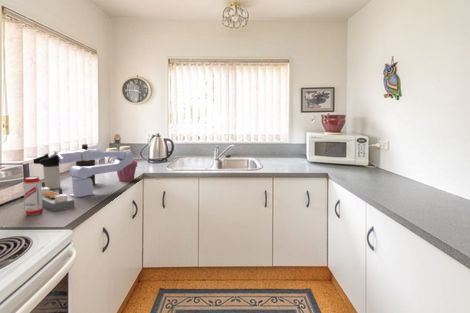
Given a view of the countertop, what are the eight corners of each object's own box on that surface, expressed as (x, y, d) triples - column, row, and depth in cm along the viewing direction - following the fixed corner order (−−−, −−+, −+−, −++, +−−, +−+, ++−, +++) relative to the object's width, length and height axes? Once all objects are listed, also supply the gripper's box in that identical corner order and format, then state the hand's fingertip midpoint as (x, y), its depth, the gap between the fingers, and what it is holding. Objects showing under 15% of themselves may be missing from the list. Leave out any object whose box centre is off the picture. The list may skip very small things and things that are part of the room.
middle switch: (55, 195, 148) (54, 192, 148) (57, 195, 146) (56, 192, 146) (47, 196, 145) (46, 194, 145) (48, 196, 143) (48, 194, 143)
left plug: (46, 191, 154) (46, 180, 154) (49, 193, 152) (49, 181, 151) (38, 193, 151) (37, 181, 150) (40, 194, 149) (40, 183, 148)
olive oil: (100, 183, 190) (98, 144, 186) (86, 187, 180) (84, 145, 176) (87, 182, 193) (85, 143, 190) (73, 185, 183) (70, 144, 180)
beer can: (32, 211, 135) (29, 176, 133) (46, 211, 135) (43, 176, 133) (22, 215, 129) (19, 179, 127) (36, 216, 129) (33, 179, 126)
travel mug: (55, 189, 173) (53, 158, 171) (41, 189, 173) (39, 158, 171) (63, 186, 181) (61, 156, 178) (50, 186, 181) (48, 156, 179)
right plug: (64, 199, 142) (63, 186, 141) (67, 200, 140) (66, 188, 139) (54, 200, 139) (54, 188, 138) (58, 202, 137) (57, 189, 136)
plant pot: (130, 183, 192) (130, 163, 191) (110, 182, 195) (109, 162, 193) (141, 178, 206) (141, 160, 205) (122, 177, 209) (121, 159, 207)
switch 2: (58, 196, 146) (57, 194, 146) (60, 196, 144) (59, 194, 144) (50, 198, 143) (49, 195, 143) (52, 198, 141) (51, 195, 141)
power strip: (51, 197, 158) (51, 190, 157) (74, 207, 142) (74, 199, 141) (32, 200, 151) (31, 194, 150) (53, 211, 135) (53, 204, 134)
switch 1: (52, 194, 150) (51, 191, 150) (54, 193, 148) (53, 191, 148) (44, 195, 147) (43, 193, 147) (46, 195, 146) (45, 192, 146)
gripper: (59, 149, 158) (29, 153, 147) (72, 150, 150) (42, 154, 139) (60, 162, 159) (31, 167, 149) (74, 164, 151) (44, 169, 140)
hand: (37, 162), depth 144 cm, fingers open, 7 cm apart
